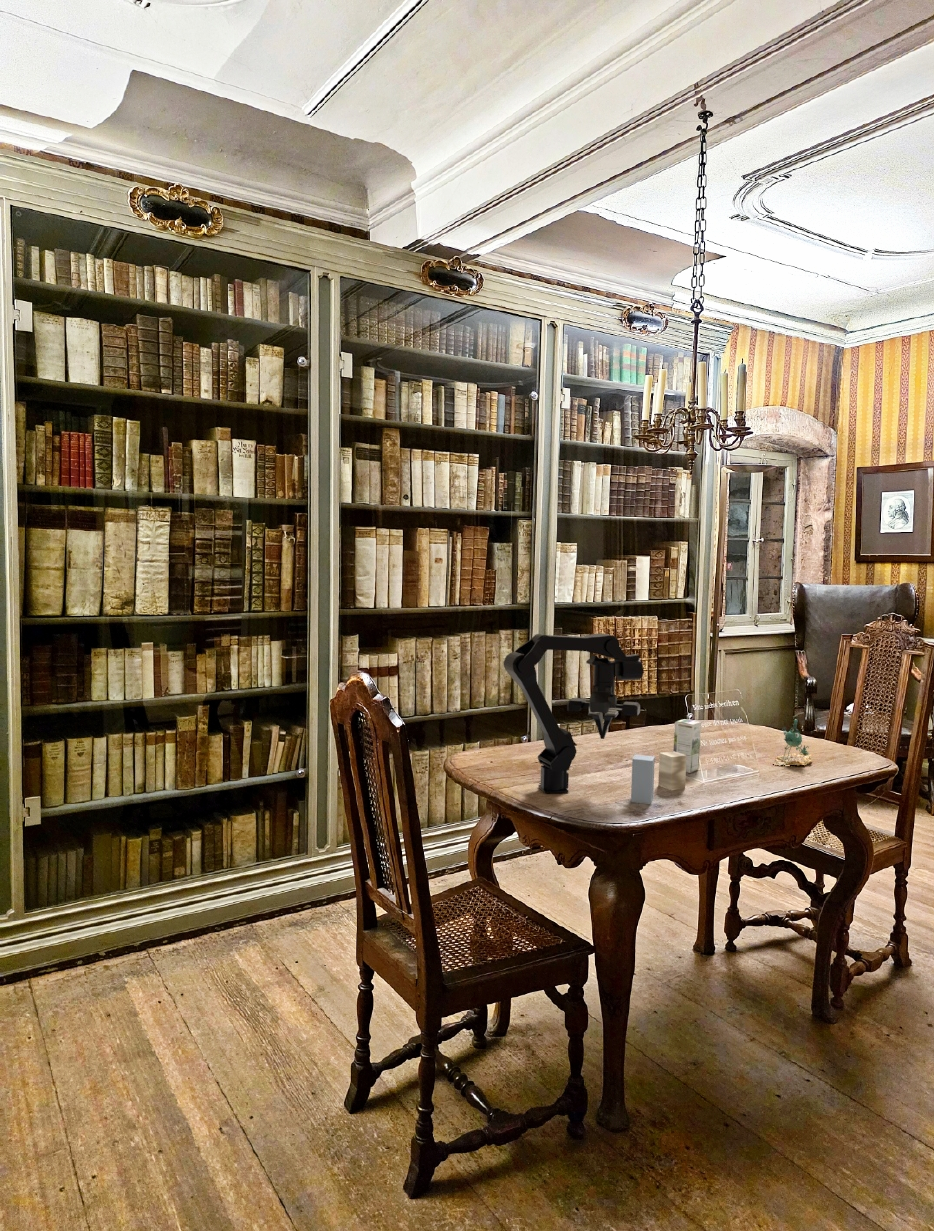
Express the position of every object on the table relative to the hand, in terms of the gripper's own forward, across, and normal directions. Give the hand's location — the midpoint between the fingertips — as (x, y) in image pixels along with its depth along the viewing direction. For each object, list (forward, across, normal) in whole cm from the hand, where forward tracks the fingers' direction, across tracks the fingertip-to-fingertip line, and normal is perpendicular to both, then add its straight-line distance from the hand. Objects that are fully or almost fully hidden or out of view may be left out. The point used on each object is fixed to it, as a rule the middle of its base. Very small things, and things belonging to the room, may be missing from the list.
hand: (602, 738), depth 217 cm
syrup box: (+13, +20, +27) cm, 36 cm away
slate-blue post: (+13, +12, -8) cm, 20 cm away
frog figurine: (+14, +51, +50) cm, 72 cm away
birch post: (+13, +18, +7) cm, 23 cm away
